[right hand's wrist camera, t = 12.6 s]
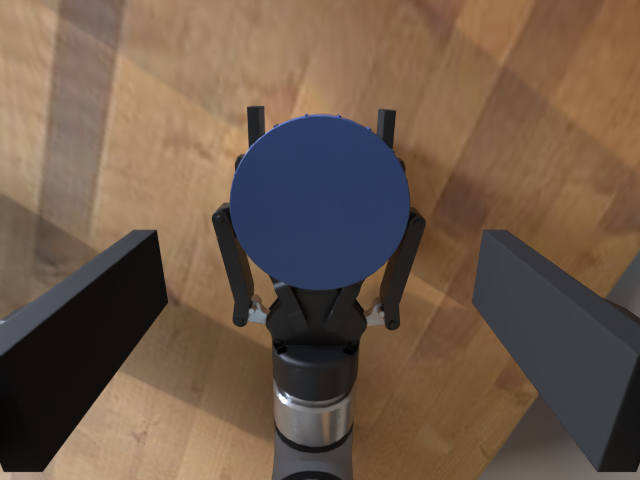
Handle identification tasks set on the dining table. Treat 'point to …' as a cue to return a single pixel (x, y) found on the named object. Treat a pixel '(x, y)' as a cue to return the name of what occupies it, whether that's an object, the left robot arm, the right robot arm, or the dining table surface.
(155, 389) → the dining table surface
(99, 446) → the dining table surface
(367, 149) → the lid
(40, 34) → the dining table surface
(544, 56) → the dining table surface
